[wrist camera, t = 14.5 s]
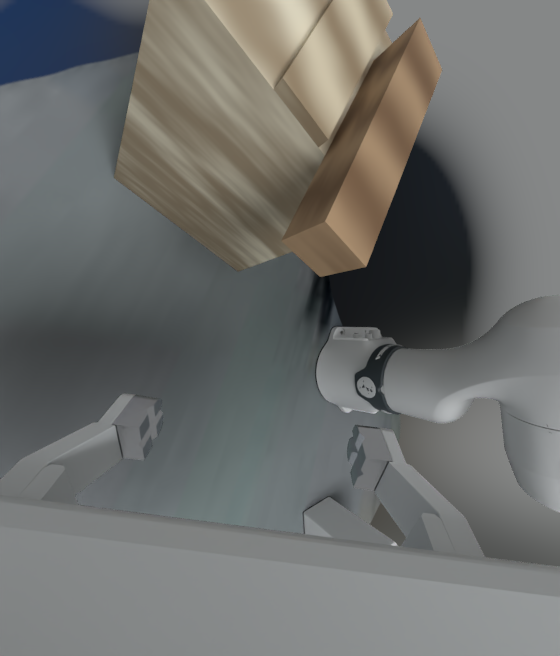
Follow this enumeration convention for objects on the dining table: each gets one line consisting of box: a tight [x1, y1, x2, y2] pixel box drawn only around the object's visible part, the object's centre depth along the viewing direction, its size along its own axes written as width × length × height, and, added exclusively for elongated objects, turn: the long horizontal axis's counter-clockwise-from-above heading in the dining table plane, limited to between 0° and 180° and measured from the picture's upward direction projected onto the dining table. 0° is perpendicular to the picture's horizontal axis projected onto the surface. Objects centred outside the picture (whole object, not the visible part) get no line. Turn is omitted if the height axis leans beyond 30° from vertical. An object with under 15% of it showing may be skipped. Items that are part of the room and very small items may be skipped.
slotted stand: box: [114, 0, 393, 271], centre depth 31 cm, size 16×20×27 cm
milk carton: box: [304, 497, 397, 546], centre depth 47 cm, size 7×7×19 cm
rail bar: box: [281, 18, 442, 277], centre depth 20 cm, size 20×4×4 cm, turn 151°
